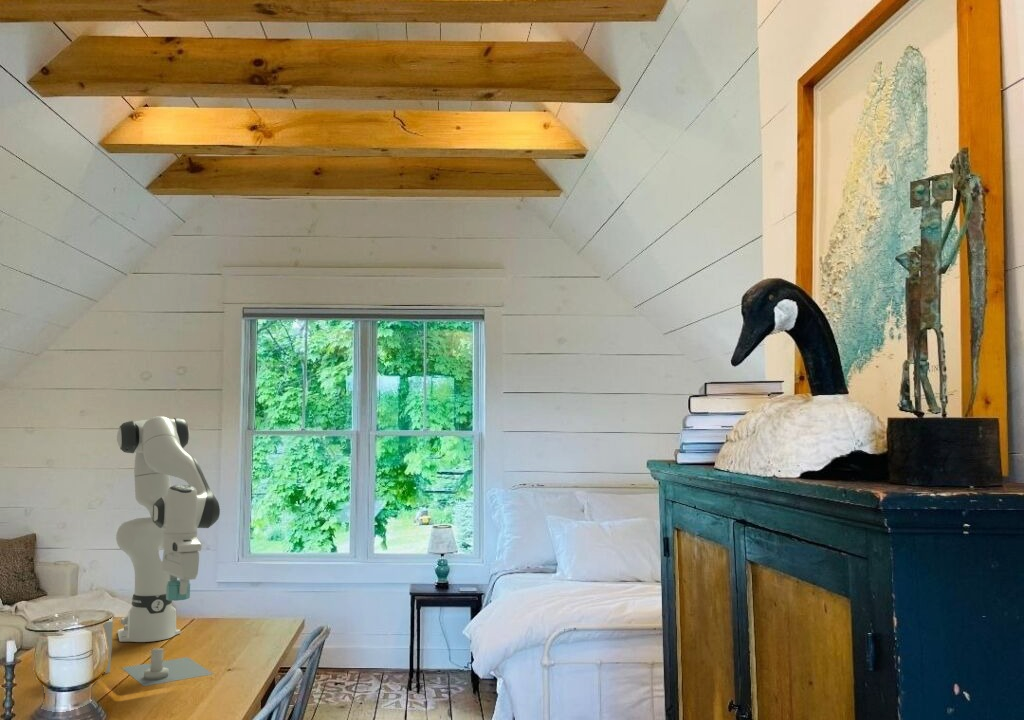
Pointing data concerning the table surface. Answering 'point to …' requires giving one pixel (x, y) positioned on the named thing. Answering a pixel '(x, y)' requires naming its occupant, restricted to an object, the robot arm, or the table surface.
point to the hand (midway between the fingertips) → (178, 592)
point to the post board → (173, 672)
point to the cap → (176, 591)
